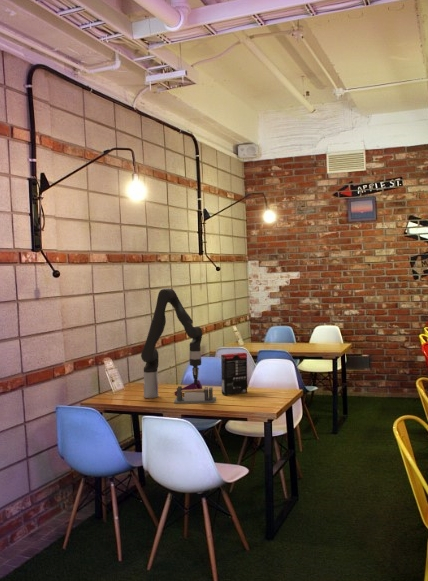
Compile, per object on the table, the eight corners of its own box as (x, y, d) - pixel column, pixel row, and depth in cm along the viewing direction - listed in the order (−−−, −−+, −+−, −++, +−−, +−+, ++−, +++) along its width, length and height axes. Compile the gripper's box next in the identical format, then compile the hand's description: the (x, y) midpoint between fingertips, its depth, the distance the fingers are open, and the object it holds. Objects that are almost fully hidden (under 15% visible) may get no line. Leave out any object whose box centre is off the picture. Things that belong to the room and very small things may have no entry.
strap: (178, 392, 369) (178, 389, 369) (178, 391, 373) (178, 388, 373) (207, 391, 368) (207, 387, 368) (208, 389, 371) (207, 386, 371)
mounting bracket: (177, 404, 388) (198, 394, 381) (171, 393, 389) (193, 382, 382) (183, 401, 396) (204, 391, 390) (177, 390, 398) (199, 380, 391)
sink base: (173, 403, 365) (173, 389, 364) (176, 399, 378) (176, 385, 377) (214, 403, 363) (214, 388, 363) (215, 398, 376) (215, 384, 376)
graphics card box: (243, 391, 395) (242, 351, 394) (248, 393, 389) (247, 353, 388) (221, 394, 388) (220, 354, 387) (226, 396, 382) (224, 355, 381)
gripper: (190, 356, 376) (191, 382, 377) (188, 359, 363) (188, 386, 364) (202, 356, 376) (202, 382, 376) (200, 359, 362) (200, 386, 363)
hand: (195, 384), depth 370 cm, fingers closed
